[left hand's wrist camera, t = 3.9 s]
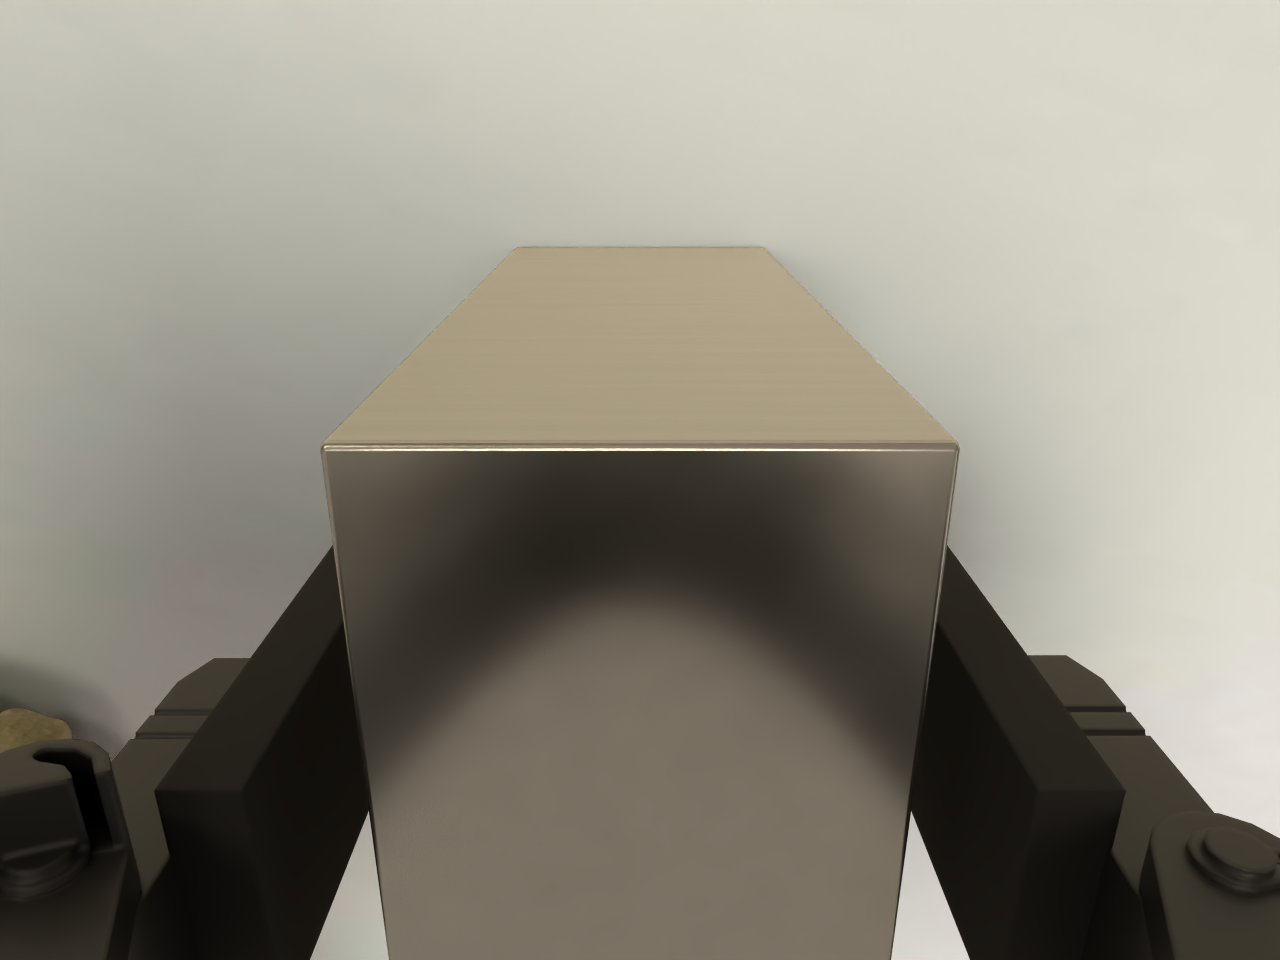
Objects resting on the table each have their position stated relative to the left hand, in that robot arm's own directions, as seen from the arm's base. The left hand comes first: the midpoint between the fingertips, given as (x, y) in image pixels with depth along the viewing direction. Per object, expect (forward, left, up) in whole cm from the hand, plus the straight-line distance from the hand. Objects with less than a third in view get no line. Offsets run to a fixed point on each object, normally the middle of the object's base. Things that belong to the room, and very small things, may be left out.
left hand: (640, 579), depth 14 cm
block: (0, 0, -5) cm, 5 cm away
